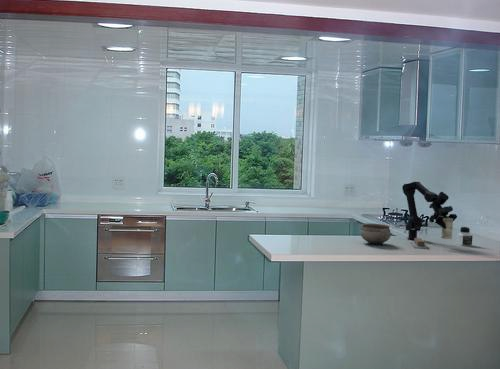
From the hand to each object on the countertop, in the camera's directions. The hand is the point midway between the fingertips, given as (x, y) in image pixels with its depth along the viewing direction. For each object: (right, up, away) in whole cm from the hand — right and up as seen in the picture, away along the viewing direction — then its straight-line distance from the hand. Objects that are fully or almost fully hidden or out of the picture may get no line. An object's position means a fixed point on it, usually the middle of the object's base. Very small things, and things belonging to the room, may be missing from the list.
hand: (448, 228), depth 382 cm
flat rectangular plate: (-18, -11, +3) cm, 22 cm away
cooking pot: (-46, -10, +4) cm, 48 cm away
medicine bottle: (+16, -12, +17) cm, 26 cm away
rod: (-1, -6, +2) cm, 7 cm away
